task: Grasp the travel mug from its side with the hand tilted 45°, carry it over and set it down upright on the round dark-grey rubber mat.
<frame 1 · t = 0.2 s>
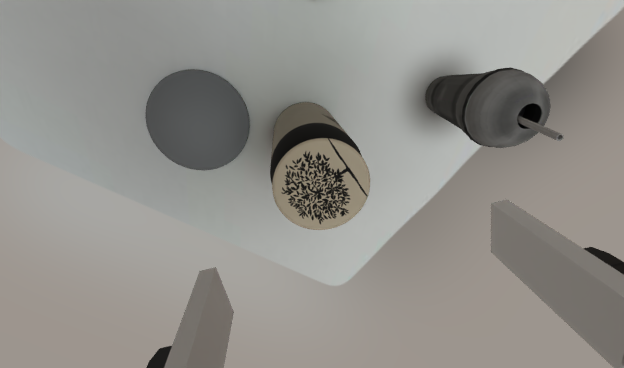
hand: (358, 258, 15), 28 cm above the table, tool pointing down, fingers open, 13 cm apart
beverage cup: (442, 94, 41), on the table
travel mug: (305, 133, 41), on the table
mat: (199, 122, 40), on the table
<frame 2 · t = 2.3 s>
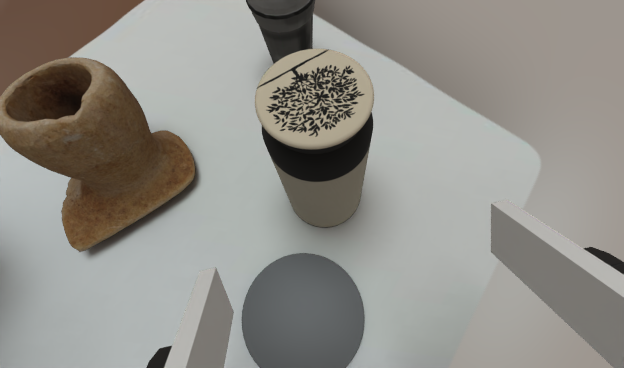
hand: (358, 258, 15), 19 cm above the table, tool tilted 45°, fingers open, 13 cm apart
beverage cup: (295, 72, 44), on the table
stone cup: (135, 181, 40), on the table
travel mug: (325, 194, 37), on the table
mat: (302, 315, 32), on the table
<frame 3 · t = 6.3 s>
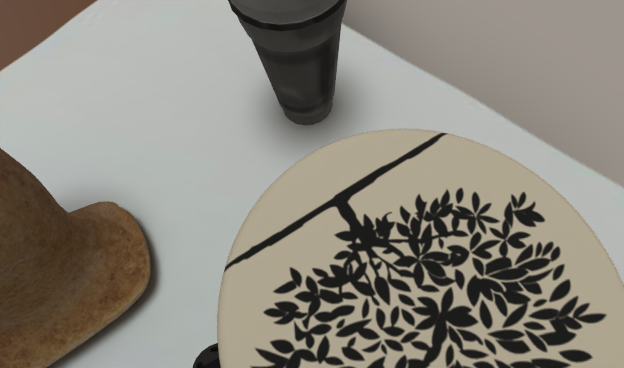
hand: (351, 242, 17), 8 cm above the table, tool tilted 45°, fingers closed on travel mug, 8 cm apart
beverage cup: (307, 104, 30), on the table
stone cup: (61, 282, 25), on the table
travel mug: (360, 312, 23), on the table, touching gripper
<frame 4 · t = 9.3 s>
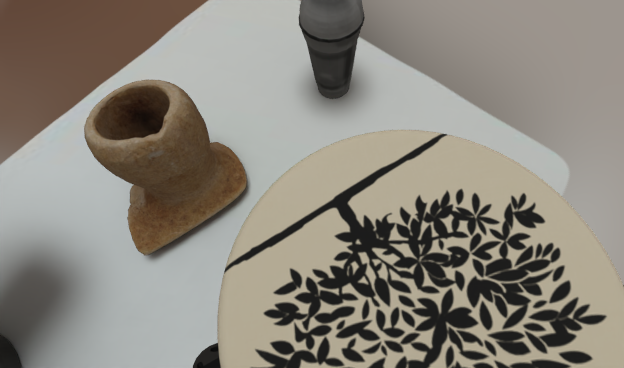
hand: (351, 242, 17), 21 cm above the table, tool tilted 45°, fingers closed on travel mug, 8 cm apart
beverage cup: (333, 86, 47), on the table
stone cup: (189, 190, 43), on the table
travel mug: (360, 313, 23), point 13 cm above the table, touching gripper
when the fingers open (10 cm above the table, at t = 12.3 s): travel mug drops 1 cm, resting on mat.
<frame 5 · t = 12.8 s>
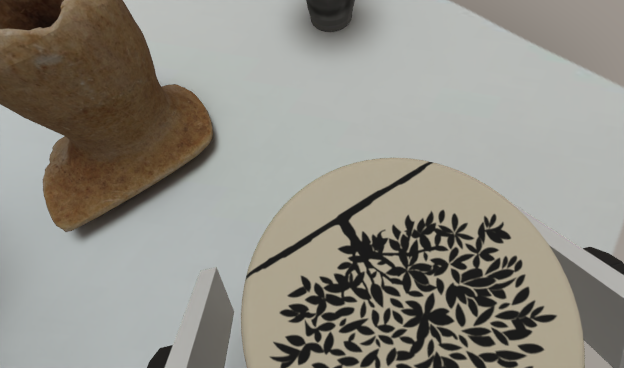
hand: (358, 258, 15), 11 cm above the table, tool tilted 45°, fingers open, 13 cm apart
beverage cup: (331, 17, 36), on the table
stone cup: (138, 148, 32), on the table
travel mug: (359, 313, 24), resting on mat
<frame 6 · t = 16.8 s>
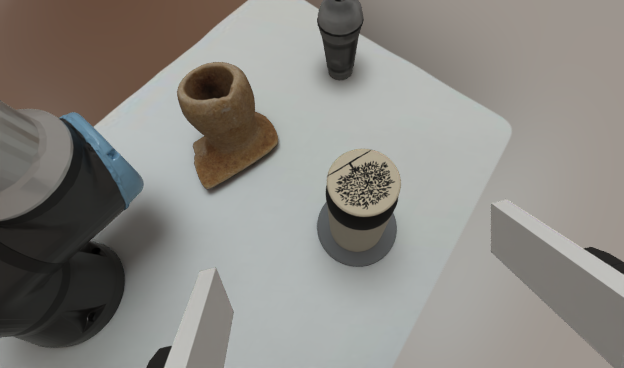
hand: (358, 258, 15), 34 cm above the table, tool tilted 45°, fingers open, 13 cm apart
beverage cup: (340, 71, 62), on the table
stone cup: (234, 146, 58), on the table
travel mug: (356, 226, 50), resting on mat
mat: (356, 226, 50), on the table
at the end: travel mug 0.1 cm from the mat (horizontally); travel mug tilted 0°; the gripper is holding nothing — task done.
